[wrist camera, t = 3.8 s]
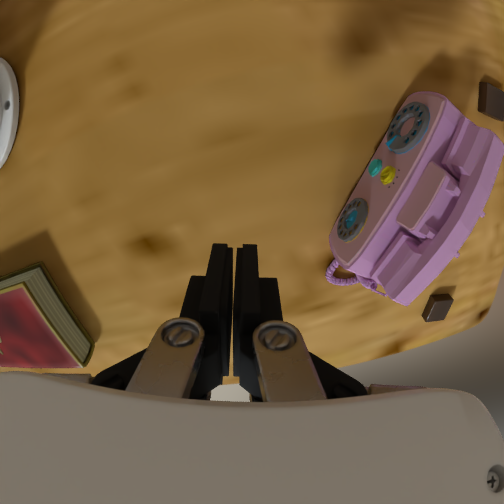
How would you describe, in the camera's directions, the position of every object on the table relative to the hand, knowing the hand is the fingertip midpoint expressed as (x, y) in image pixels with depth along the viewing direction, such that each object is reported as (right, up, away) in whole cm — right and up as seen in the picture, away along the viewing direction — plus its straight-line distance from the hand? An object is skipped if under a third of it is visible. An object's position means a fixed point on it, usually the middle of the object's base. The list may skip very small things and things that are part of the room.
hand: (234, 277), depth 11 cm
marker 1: (+22, -5, +17) cm, 28 cm away
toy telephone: (+11, +6, +11) cm, 16 cm away
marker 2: (+23, +15, +5) cm, 28 cm away
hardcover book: (-29, -7, +16) cm, 34 cm away
